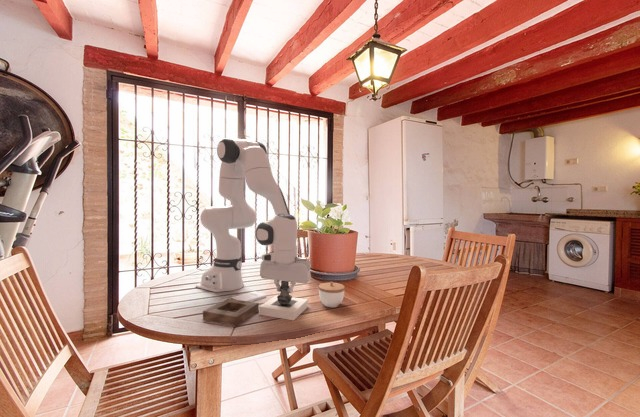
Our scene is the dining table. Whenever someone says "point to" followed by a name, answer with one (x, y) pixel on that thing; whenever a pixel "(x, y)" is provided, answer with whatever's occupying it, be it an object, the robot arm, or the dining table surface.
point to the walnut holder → (233, 318)
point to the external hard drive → (249, 296)
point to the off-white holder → (283, 308)
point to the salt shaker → (284, 295)
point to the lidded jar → (331, 294)
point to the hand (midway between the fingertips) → (284, 292)
